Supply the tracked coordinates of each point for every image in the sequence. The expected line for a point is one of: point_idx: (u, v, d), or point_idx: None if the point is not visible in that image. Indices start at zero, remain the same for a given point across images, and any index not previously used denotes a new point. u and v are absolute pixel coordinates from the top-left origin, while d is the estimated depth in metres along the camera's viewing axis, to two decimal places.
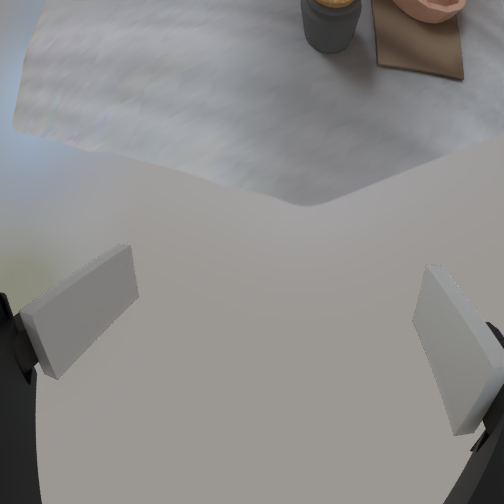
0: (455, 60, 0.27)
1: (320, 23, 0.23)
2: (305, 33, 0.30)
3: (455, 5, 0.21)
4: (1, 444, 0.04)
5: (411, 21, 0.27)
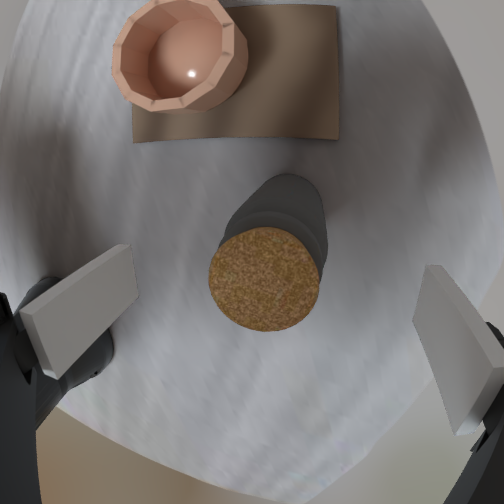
0: (306, 14, 0.20)
1: None
2: None
3: (213, 9, 0.16)
4: (1, 444, 0.04)
5: (251, 78, 0.22)
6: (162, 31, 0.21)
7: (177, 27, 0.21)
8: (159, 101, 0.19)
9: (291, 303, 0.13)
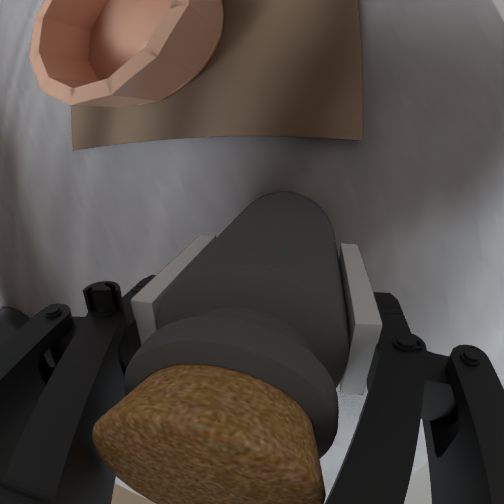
0: None
1: None
2: None
3: None
4: (81, 459, 0.04)
5: (228, 48, 0.14)
6: None
7: None
8: (80, 88, 0.11)
9: None
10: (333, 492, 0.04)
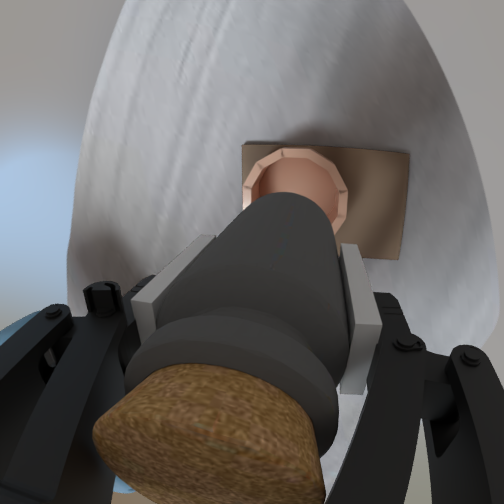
0: (388, 161, 0.30)
1: None
2: None
3: (332, 175, 0.27)
4: (80, 458, 0.04)
5: None
6: None
7: (285, 160, 0.31)
8: None
9: None
10: (333, 492, 0.04)
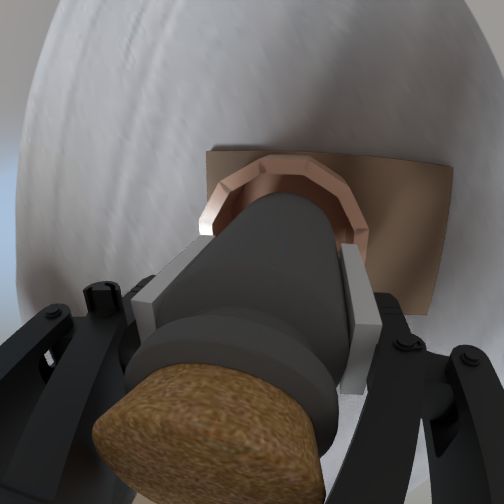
0: (423, 178, 0.19)
1: None
2: None
3: (345, 204, 0.16)
4: (80, 458, 0.04)
5: None
6: None
7: (270, 174, 0.21)
8: None
9: None
10: (333, 492, 0.04)
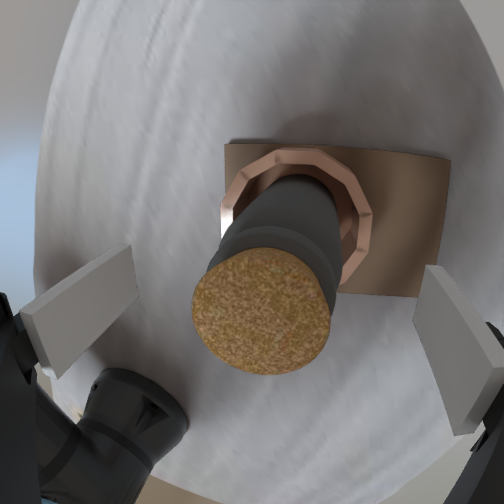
0: (423, 169, 0.21)
1: None
2: None
3: (351, 191, 0.18)
4: (1, 444, 0.04)
5: None
6: (266, 168, 0.23)
7: (283, 165, 0.23)
8: None
9: (294, 346, 0.10)
10: None
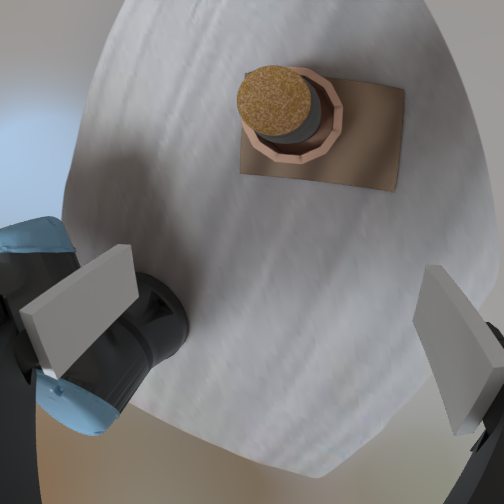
0: (383, 94, 0.29)
1: (314, 125, 0.22)
2: None
3: (328, 91, 0.26)
4: (1, 444, 0.04)
5: (340, 139, 0.32)
6: None
7: None
8: (282, 155, 0.29)
9: (292, 111, 0.18)
10: None
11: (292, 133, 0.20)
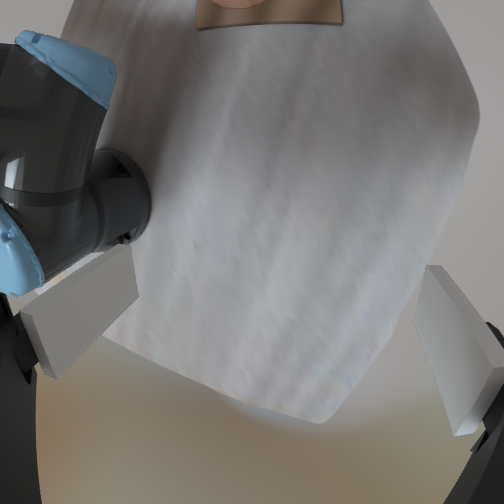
0: None
1: None
2: None
3: None
4: (1, 444, 0.04)
5: None
6: None
7: None
8: None
9: None
10: None
11: None
